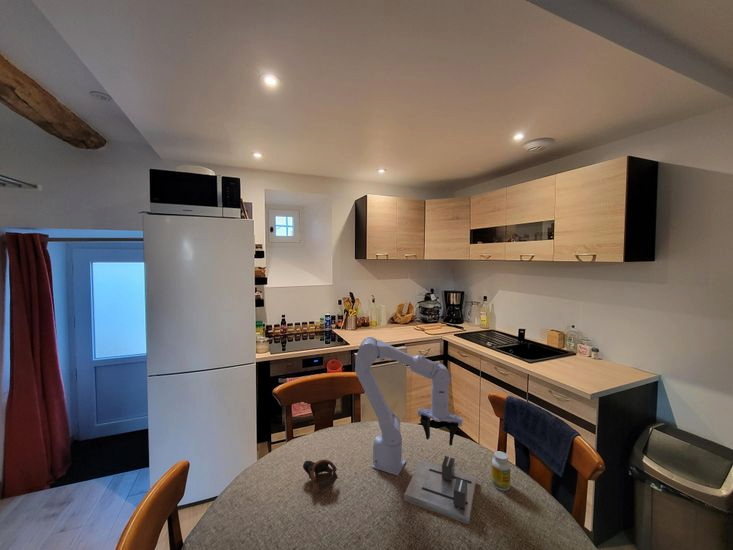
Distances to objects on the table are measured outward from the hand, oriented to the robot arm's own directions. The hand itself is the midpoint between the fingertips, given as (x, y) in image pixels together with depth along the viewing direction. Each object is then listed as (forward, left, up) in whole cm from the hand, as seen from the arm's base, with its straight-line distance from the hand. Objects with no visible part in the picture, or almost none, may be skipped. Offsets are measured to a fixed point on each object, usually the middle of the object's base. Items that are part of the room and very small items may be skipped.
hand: (439, 440), depth 100 cm
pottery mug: (-32, -24, -10) cm, 41 cm away
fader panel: (+3, -10, -9) cm, 14 cm away
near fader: (+9, -14, -7) cm, 18 cm away
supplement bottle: (+19, +1, -10) cm, 21 cm away
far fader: (+4, -5, -7) cm, 10 cm away
